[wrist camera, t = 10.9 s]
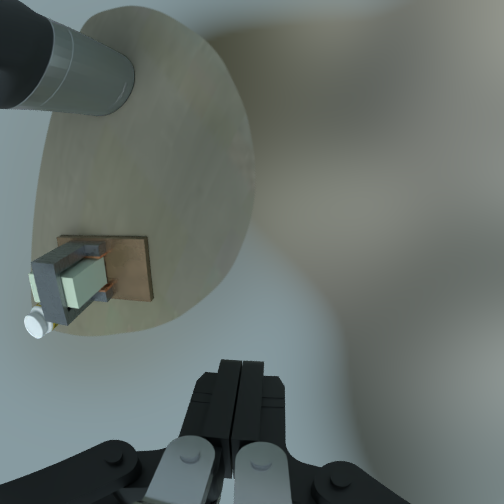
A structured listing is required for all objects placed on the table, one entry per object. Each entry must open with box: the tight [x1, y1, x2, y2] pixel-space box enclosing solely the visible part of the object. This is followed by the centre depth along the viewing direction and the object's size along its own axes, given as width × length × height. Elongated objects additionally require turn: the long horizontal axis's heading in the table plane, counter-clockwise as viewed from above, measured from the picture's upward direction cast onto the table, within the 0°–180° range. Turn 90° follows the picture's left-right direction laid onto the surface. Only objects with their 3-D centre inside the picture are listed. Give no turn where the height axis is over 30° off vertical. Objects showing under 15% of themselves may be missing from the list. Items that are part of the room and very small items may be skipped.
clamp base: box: [31, 235, 154, 326], centre depth 37 cm, size 15×9×10 cm, turn 89°
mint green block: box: [28, 257, 107, 309], centre depth 37 cm, size 8×4×8 cm, turn 89°
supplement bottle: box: [24, 302, 58, 338], centre depth 41 cm, size 5×5×8 cm
